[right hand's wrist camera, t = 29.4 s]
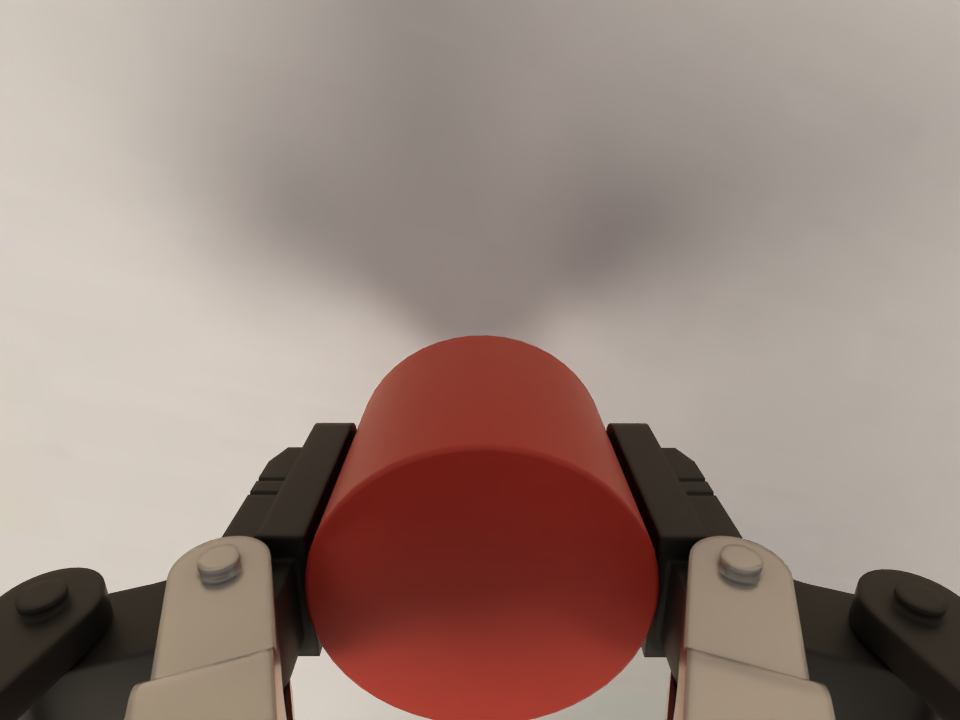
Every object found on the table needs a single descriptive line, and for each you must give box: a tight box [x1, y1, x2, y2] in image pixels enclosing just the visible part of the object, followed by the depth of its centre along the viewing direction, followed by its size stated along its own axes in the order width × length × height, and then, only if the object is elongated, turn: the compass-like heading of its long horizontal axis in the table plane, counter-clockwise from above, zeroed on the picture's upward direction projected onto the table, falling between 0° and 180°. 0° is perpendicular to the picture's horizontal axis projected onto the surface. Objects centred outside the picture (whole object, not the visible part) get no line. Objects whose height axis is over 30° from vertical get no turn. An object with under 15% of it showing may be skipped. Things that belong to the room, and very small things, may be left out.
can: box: [305, 336, 659, 720], centre depth 10 cm, size 5×5×4 cm
